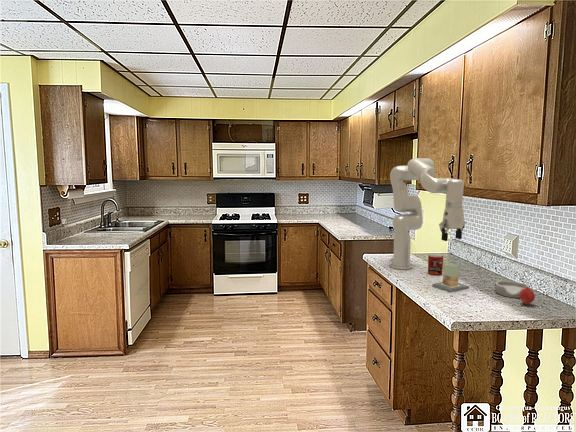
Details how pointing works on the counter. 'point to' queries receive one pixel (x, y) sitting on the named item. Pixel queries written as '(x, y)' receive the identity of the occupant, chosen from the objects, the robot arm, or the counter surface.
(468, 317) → the counter surface
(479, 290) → the counter surface
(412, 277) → the counter surface
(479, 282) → the counter surface
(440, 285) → the build board
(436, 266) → the canned food
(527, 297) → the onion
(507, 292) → the dish
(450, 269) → the sage block
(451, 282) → the oak block
